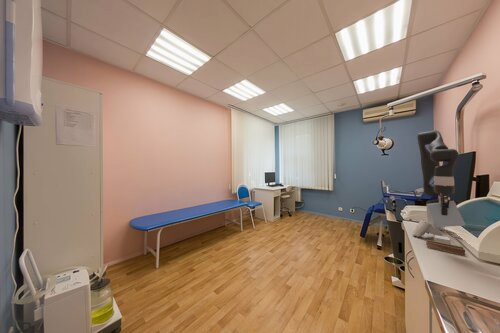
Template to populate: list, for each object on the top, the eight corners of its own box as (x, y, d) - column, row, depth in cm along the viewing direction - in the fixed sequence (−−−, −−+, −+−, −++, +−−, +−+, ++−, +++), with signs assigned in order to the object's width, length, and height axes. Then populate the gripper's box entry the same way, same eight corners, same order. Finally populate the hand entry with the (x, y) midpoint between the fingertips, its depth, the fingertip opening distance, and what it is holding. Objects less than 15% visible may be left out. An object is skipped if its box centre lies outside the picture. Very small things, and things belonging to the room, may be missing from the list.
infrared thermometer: (446, 233, 109) (427, 221, 109) (434, 248, 110) (415, 236, 110) (438, 230, 114) (420, 218, 113) (427, 244, 115) (409, 232, 114)
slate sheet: (436, 226, 97) (426, 204, 100) (465, 224, 90) (453, 201, 93) (436, 227, 96) (426, 204, 99) (466, 225, 89) (454, 201, 92)
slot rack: (426, 244, 101) (426, 239, 101) (463, 252, 92) (463, 246, 92) (426, 247, 98) (426, 242, 98) (465, 255, 88) (465, 250, 88)
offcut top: (434, 238, 105) (434, 234, 105) (448, 240, 101) (448, 237, 101) (435, 240, 102) (435, 237, 102) (450, 243, 98) (450, 240, 98)
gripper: (432, 183, 102) (432, 211, 102) (435, 185, 92) (435, 216, 92) (451, 183, 97) (451, 213, 97) (456, 186, 87) (457, 219, 87)
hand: (444, 214), depth 95 cm, fingers closed on slate sheet
